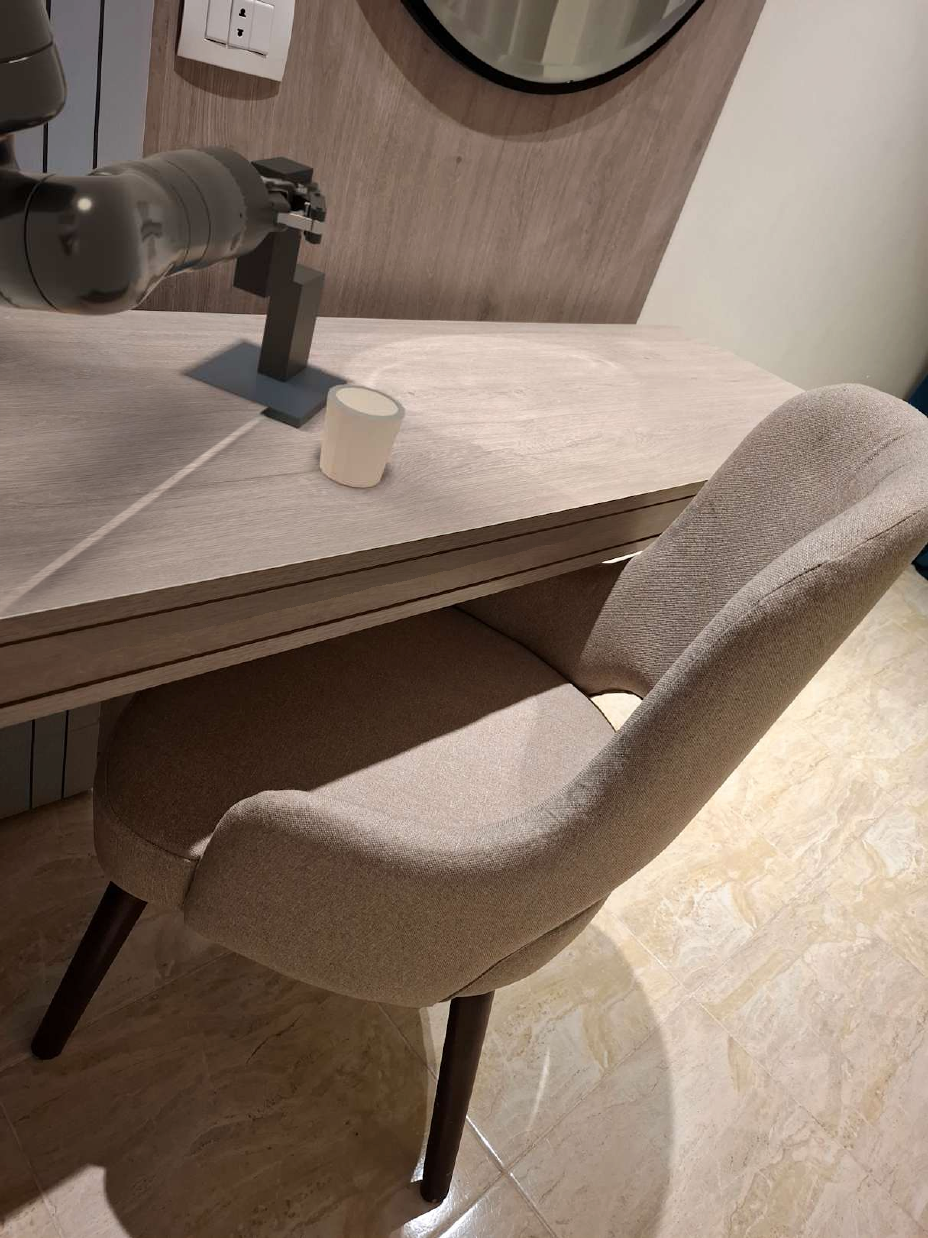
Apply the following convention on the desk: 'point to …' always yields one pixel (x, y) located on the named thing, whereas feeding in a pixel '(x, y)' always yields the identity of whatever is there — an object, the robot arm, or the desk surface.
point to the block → (273, 240)
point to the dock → (266, 388)
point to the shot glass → (358, 434)
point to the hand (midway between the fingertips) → (292, 187)
